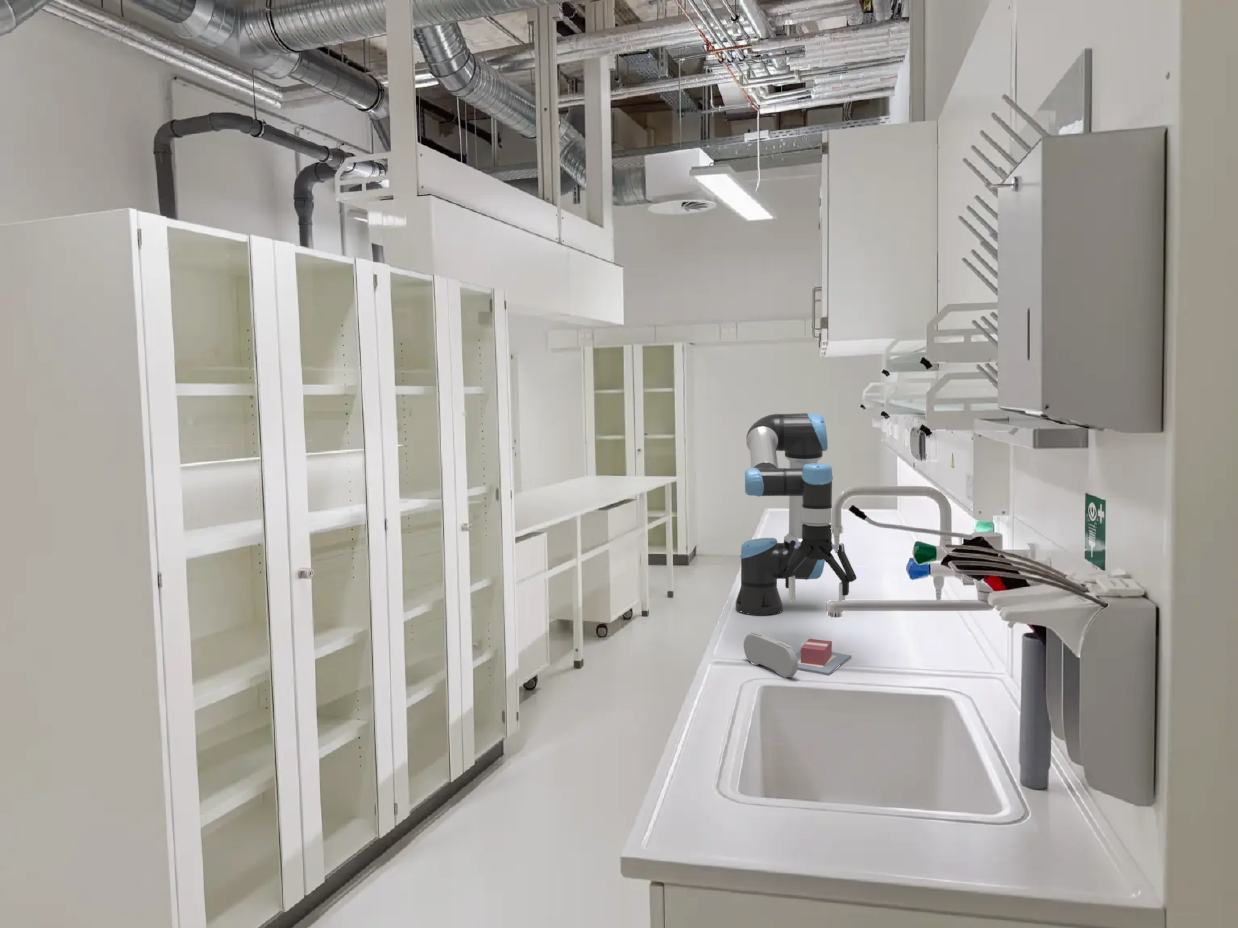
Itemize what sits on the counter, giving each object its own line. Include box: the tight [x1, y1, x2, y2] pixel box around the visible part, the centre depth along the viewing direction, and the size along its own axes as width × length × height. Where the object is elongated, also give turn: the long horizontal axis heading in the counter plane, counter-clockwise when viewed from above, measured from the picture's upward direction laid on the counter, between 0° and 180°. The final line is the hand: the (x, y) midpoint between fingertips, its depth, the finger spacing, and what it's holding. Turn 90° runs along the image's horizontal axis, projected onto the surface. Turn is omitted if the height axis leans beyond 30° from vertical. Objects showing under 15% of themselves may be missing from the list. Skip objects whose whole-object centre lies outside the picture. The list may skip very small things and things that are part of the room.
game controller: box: [743, 632, 798, 678], centre depth 212 cm, size 20×2×8 cm, turn 29°
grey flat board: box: [795, 650, 852, 676], centre depth 217 cm, size 17×13×1 cm
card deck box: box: [800, 638, 833, 666], centre depth 217 cm, size 6×9×4 cm, turn 153°
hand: (816, 604), depth 217 cm, fingers open, 13 cm apart
